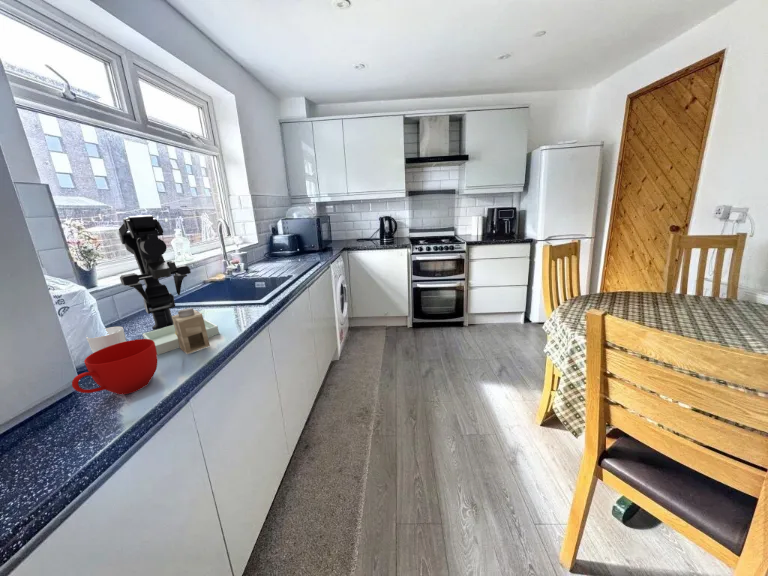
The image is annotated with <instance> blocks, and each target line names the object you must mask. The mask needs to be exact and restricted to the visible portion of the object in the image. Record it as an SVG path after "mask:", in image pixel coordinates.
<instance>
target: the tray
mask: <svg viewBox="0 0 768 576" xmlns="http://www.w3.org/2000/svg"><path fill="white" fill-rule="evenodd" d="M203 319H204V323H205V328H206V332H207V336H208V339H209V338H212V337H214V335H215V336H216V334H218V335H220V331H219V330H220V329H219V326H218V325H217V324H215V323H213V322H211V321H209V320H208V319H206V318H204V317H203ZM175 331H176V330H175V327H174V324H173V325H171V326H166V327H160V328H156V329H154V330H151V331H148V332H144V333H142V337H143V339H150V340H153V341H154V343H155V346H156V352H157V356H159V355H162V354H164V353H168V352H170V351H174V350H176V349H179V348H180V345H179V341H178V337H177V336H176V334H175ZM180 349H181V348H180Z"/></svg>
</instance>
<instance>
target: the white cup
mask: <svg viewBox="0 0 768 576" xmlns="http://www.w3.org/2000/svg"><path fill="white" fill-rule="evenodd" d="M104 329H106V331H107V332H108V333H107V334H109V335H106V336H101V337H95V338H88V337H86V336H85V338H86V340H87V343H88V345H89V347H90V349H91V352H92V354H93V353H94V352H96V351H99V350H101V349H103V348H106V347H108V346H111V345H115V344H118V343H122V342H126V341H127V337H126V333H125V330H124V327H123V326H111V327H106V328H104Z"/></svg>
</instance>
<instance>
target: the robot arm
mask: <svg viewBox="0 0 768 576" xmlns="http://www.w3.org/2000/svg"><path fill="white" fill-rule="evenodd" d="M122 221H123V224H122V225H121V226H120V227H119V228H118V235H119V239H120V242H121V245H124V246H125V249H126V251H128V252H129V253H131V254H132V255H134V258H135V260H136V264H137V266H138V269H139V271H140V274H137V273H135V272H134V273H133V272H132V273H128V274H122V275H120V276H119V280H120V284H121V285H123V286H125V287H127V286H128V287H130V288H134V289H135V290H136V291H137V292H138V293H139V294H140V296H141V297H142V298H143V306H144V309H145V312H146V313H147V314H148V315H150V314H151V315H152V317H153V320H154V321H153V322H154V325H153V326H152V330H153V329H154V330H156V329H161V328H164V327H168V326H171V325H174V323H173V319H172V316H173V314H172V313H171V309H175V308H176V303H175V296H174V295H173V294H172V293H171V292H169V290H168V287H167V285H166V284H163V283H161V282H160V279H163V278H169V277H171V276H173V281H174V285H175V290H176V294H177V295H178V296H181V289H182V284H183V281H184V278H186V277H188V275H190V274H191V273H192V272H191V268H190V266H188V265H186V264H180V265H177V264H176V262H175V261H174V260H168V261H165V259H164V256H163V255H164V254H165V253H166V251H167V244H166V242H165V241H163V239H161V238H159V237H161V236H164V229H163V227H162V225H161V223H160V221H159V220H158V219H157V218H155V217H154V216H153V215H151V214H147V215H146V214H145V215H132V216H131V215H130V216H128V217H125V218H122ZM140 281H143V282H144V284H145V289H144V287H143V284H142V283H141V282H140Z"/></svg>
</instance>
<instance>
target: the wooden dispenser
mask: <svg viewBox="0 0 768 576" xmlns="http://www.w3.org/2000/svg"><path fill="white" fill-rule="evenodd" d="M203 318H204V316H203V313H202V312H200V311H197V310H195V309H194V308H192V307H188V308H183V309H180V310H178V312H177V314H176V315H172V319H173V323H174V324H173V325H174V327H175V330H176V334H177V337H178V341H179V345H180V350H181V351H182V352H184V353H185V354H186V355H190V354H192V353H194V352H195V353H196V352H198V351H200V350H204V349H206V348H209V347H210V346H211V345H210V340H209V338H208V336H207V332H206V328H205V323H204V319H205V318H204V319H203Z"/></svg>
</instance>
